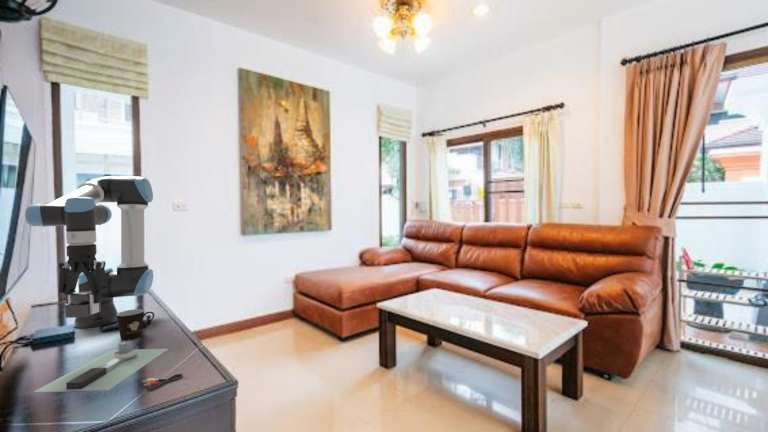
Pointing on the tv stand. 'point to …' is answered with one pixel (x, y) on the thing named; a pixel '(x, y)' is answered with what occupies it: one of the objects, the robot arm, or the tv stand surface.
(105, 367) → the ratchet
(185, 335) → the tv stand surface
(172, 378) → the composite cable
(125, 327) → the coffee mug
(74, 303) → the dark grey door knob
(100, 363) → the tool mat
